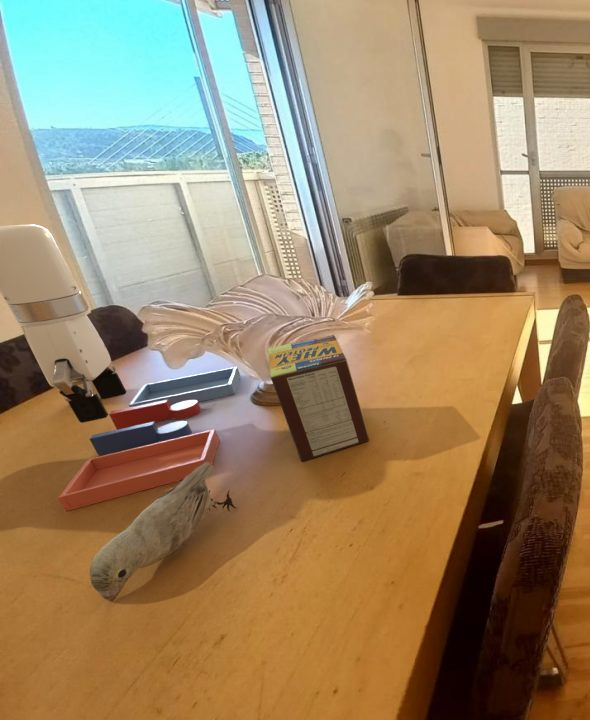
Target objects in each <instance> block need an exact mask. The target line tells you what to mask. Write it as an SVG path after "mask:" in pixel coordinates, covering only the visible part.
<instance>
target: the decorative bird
mask: <svg viewBox="0 0 590 720" xmlns="http://www.w3.org/2000/svg"><path fill="white" fill-rule="evenodd" d="M215 468H216V466H215V465H213V464H212V465H210V463H208V462H206V463H204V464H202V465H201V466H199V467H197V468H196V469H195V470H194V471H193V472H192V473H191V474H189V475H187V476H186V477H185V478H184V479H183V480H181V481H180V482H179V484H178V485H176V486H175V487H172V488H171V489H170V490H168V491H166V492H164V493H163V494H162V495H161V496H159V497H158V498H156V499H155V500H154V501H152V503H150V504H149V505H147V506H146V507H145V508H144V509H143V510H142V511H141V512H140V513H139V514H138V516H136V518H134V520H133V521H132V523H131V524H130V525H129V526H127V527H126V528H125V529H124V530H123V531H122V532H120V533H118V534H117V535H115V537H113V538H111V539H109V541H108V542H106V543H105V544H104V545H103V546H102V547H101V548H100V549H99V550H98V551H97V553H95V555H94V556H93V558H92V561H91V562H90V566H89V578H90V583H91V585H92V587H93V588H94V590H95V591H97V593H98V595H100V596H101V598H103V599H104V600H106V601H108V602H111V603H113V602H114V601H115V599H116V598H117V597H118V596H119V594H120V593H121V592H122V590H123V588H124V587H125V585H126V583H127V582H128V580H129V579H130V578H131V577H132V576H133V575H134V574H135V573H136V572H138V570H140V569H141V568H146V567H149V566H151V565H154V564H156V563H157V562H159V561H161V560H162V559H164V558H166V557H167V556H169V555H171V554H174V553H175V552H176V551H178V550H179V549H181V548H183V546H184V545H185V544H186V542H188V540H189V539H190V538H191V537H192V535H193V533H194V532H195V531H196V529H197V527H198V526H199V525H200V523H201V522H202V520H204V518H205V516H206V514H207V512H208V511H209V512H212V511H211V508H212V507H213V508H215V509H218V507H217V506H216V505H218V506H221V505H222V510H224V509H225V507H226V509H227V511H228V512H230V507H232V508H234V509H237V507H236V506H235V505H234V504H233V499H232V498H231V497H230V490H227V493H226V499H225V500H224V501H222V502H219V501H217V500H213V498H212V497H211V489H209V488H208V486H207V483H206V479H207V478H209V476H210V474H211V473H212V472H213V471H214V470H215Z"/></svg>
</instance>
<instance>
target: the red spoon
mask: <svg viewBox="0 0 590 720" xmlns="http://www.w3.org/2000/svg"><path fill="white" fill-rule="evenodd" d="M201 412H202V407H201V405H200V402H198V401H197V400H187V401H183V402H179V403H176V404H174V405H172V406H170V404H169V402H168V400H164V401H159V402H154V403H149V404H144V405H139V406H135V407H126V408H121V409H115V410H112V411H110V413H109V414H108V416H109V417H110V419H111V421H112V424H113V425H114V426H115V430H118V429H123V428H127V427H132V426H136V425H141V424H145V423H150V422H155V423H158V422H164V421H168V420H175V421H176V420H177V421H179V420H184V419H185V420H186V419H188V418H191V417H194V416H197V415H198V414H200V413H201Z"/></svg>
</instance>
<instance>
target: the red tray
mask: <svg viewBox="0 0 590 720" xmlns="http://www.w3.org/2000/svg"><path fill="white" fill-rule="evenodd" d="M220 442H221V440H220V436H219V434H218V432H217V430H216V428H212V429H209V430H205V431H200V432H196V433H193V434H192V433H191V434H190V435H187V436H183V437H179V438H175V439H170V440H166V441H162V442H157V443H153V444H149V445H145V446H140V447H136V448H132V449H128V450H124V451H119V452H115V453H111V454H107V455H103V456H96V457H95V456H94V457H92V458H87V459H86V460H85V462H83V464H82V465H81V467H80V468H79V469H78V471H77V472H76V474H75V475H74V476H73V477H72V479H71V480H70V481H69V483H67V485H66V487H65V488H64V489H63V491H62V492H61V493H60V495H58V497H57V498H58V500H59V502H60V503H61V505H62V506H63V508H64V510H65V511H66V512H69V511H72V510H76V509H80V508H84V507H87V506H90V505H95V504H99V503H102V502H106V501H109V500H113V499H116V498H120V497H123V496H127V495H131V494H135V493H139V492H142V491H146V490H149V489H153V488H158V487H161V486H165V485H169V484H172V483H175V482H179V481H180V482H181V481H183V479H184V478H185V477H186V476H187V475H189V474H191V473H192V472H193V471H194V470H195V469H196V468H197V467H199V466H201V465H202V464H204V463H206V462H208V463H210V465H213V464H214V461H215V457H216V454H217V451H218V448H219V444H220Z"/></svg>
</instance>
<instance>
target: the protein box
mask: <svg viewBox="0 0 590 720" xmlns="http://www.w3.org/2000/svg"><path fill="white" fill-rule="evenodd" d="M267 352H268V364H269V365H268V367H269V376H270V380H271V382H272V385H273V388H274V390H275V393H276V396H277V398H278V401H279V404H280V406H281V407H280V408H281V409H282V413H283V416H284V419H285V421H286V424H287V426H288V429H289V432H290V435H291V438H292V440H293V443H294V446H295V448H296V451H297V454H298V456H299V460H300V462H306V461H309V460H312V459H315V458H318V457H322V456H324V455H328V454H331V453H334V452H337V451H340V450H345V449H347V448H349V447H353V446H357V445H359V444H362V443H365V442H369V441H370V437H369V433H368V429H367V426H366V422H365V419H364V418H365V417H364V415H363V411H362V407H361V405H360V401H359V397H358V394H357V391H356V386H355V383H354V380H353V376H352V374H351V370H350V366H349V362H348V360H347V357H346V355H345V353H344V351H343V349H342V347H341V345H340V342H339V341H338V339H337V337H336V336H335V334H331V335H327V336H323V337H317V338H313V339H307V340H302V341H297V342H293V343H287V344H282V345H276V346H272V347H268V349H267Z"/></svg>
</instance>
